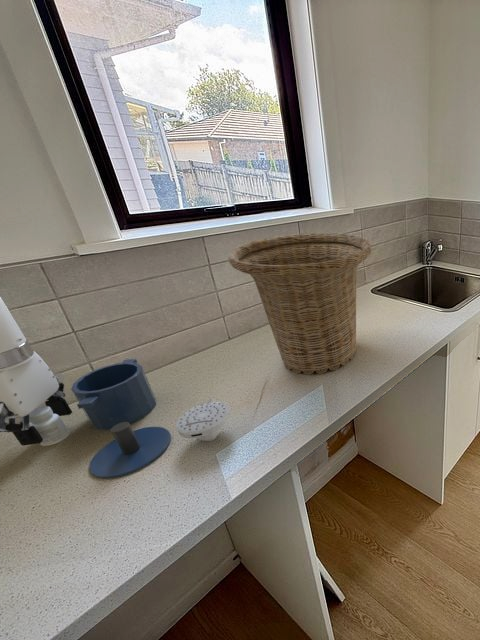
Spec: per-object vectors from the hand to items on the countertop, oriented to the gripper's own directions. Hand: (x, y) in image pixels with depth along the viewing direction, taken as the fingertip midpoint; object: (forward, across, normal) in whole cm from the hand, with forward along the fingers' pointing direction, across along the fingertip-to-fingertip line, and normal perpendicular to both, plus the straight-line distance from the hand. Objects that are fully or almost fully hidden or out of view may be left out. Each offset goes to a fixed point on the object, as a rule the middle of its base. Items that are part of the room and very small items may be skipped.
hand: (48, 428), depth 69 cm
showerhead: (+4, +7, +32) cm, 33 cm away
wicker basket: (+4, -23, +53) cm, 58 cm away
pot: (+3, -6, +10) cm, 12 cm away
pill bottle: (+4, 0, 0) cm, 4 cm away
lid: (+3, +8, +18) cm, 20 cm away
